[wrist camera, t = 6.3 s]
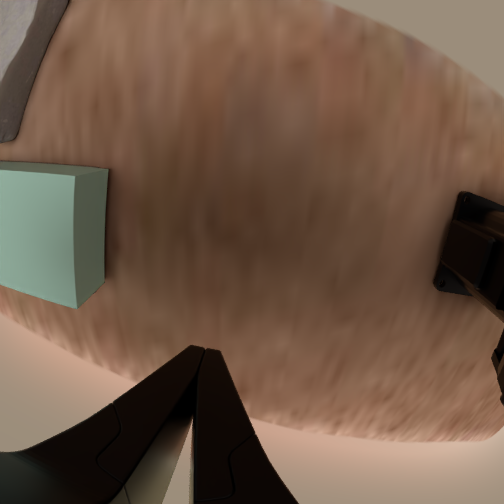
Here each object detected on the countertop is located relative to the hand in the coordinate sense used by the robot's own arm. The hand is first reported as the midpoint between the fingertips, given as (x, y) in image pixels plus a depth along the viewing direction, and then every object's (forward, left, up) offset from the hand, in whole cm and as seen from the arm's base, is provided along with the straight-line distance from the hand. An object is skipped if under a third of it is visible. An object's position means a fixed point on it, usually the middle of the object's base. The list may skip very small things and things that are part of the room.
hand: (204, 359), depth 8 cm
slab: (+8, 0, -8) cm, 11 cm away
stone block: (+19, -11, -10) cm, 25 cm away
